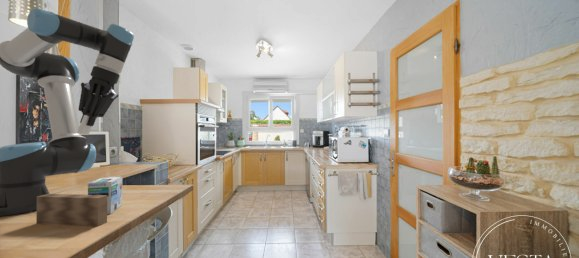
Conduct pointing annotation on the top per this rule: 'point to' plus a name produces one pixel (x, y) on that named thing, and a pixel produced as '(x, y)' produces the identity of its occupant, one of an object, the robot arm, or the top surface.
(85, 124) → the robot arm
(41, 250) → the top surface
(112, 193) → the light bulb box
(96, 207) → the walnut board
